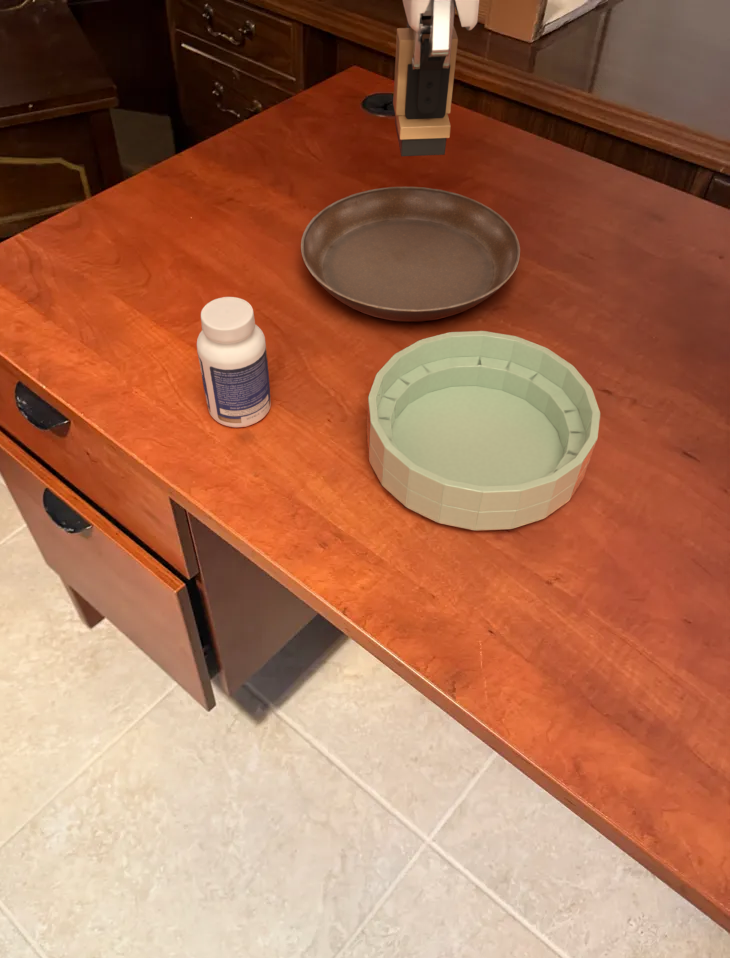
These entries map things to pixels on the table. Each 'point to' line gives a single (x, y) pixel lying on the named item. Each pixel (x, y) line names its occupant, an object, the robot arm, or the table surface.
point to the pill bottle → (233, 363)
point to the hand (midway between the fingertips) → (422, 106)
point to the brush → (411, 133)
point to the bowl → (480, 429)
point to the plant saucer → (410, 252)
